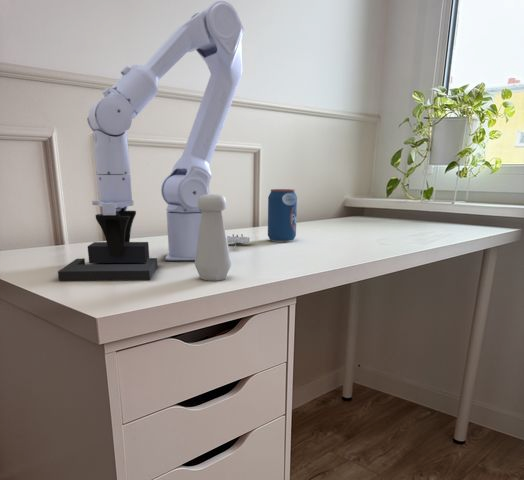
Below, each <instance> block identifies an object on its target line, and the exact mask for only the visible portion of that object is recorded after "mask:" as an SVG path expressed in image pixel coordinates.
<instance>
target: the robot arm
mask: <svg viewBox="0 0 524 480" xmlns="http://www.w3.org/2000/svg"><path fill="white" fill-rule="evenodd" d="M244 32H245V29H244V26H243V23H242V21H241V18H240V16H239V14H238V12H237V10H236V8H235V7H234V5H232V3H230V2H228V1H226V0H217V1H215V2H213V3H212V4H210V5H209V6H208V7H207V8H205V9H204V10H201V11H200V12H197V13H194V14H193V15H192V16H191V17H190V18H189V19H188V20H186V21H185V22H183V23H182V24H181V25H179V26H178V27H177V28H175V30H174V31H173V32H172V33H171V34H170V35H169V36H168V38H167V39H166V40H165V41H164V42H163V43H162V44H161V46H160V47H159V48H157V50H156V51H155V53H153V55H152V56H151V57H150V58H149V59H148V61H146V63H145V64H144V65H142V64H132V65H131V66H130V67H129V66H128V65H126V66H124V67H123V68H122V69H121V71H120V74H121V77H119V79H117V81H116V82H115V83H114V84H113V85H111V87H110V88H109V87H107V88H104V90H103V91H102V95H103V97H101V99H100V100H98V101H96V102H94V103H93V104H92V105H91V106H90V108H89V111H88V117H86V121H87V124H88V127H89V128H90V130H91V131H92V134H93V143H94V144H93V151H94V162H95V171H96V172H95V173H96V182H97V183H96V185H97V195H98V199H97V200H91V205H92V206H99V207H101V208H102V213H97V214H95V216H94V217H95V220H96V222H97V223H98V225H99V227H100V229H101V230H102V232H103V235H104V238H105V242H107V245H108V249H109V252H110V254H111V256H123V253H124V246H125V242H131V241H130V240H131V232H132V226H133V222H134V219H135V217H136V214H137V211H136V210H128V209H129V207H133V206H134V205H135V204H134V200H133V194H132V180H131V179H132V178H131V164H130V151H129V145H128V132H127V131H128V130H130V129H131V127H132V122H133V120H134V119H136V117H137V116H138V115H139V114H140V113H141V112H142V111H143V110H144V108H146V106H147V105H148V104H149V103H150V102H151V101H152V100H153V99H154V98H155V97H156V96H157V95H158V93H159V81H160V80H161V79H162V78H163V77H164V76H165V75H166V74H167V73H168V72H169V71H170V70H171V69H172V68H173V67H174V66H175V65H176V64H177V63H178V62H179V61H180V60H181V59H182V58H183V57H184V56H185V55H186V54H187V53H193V52H194V51H196V52H197V54H198V55H199V57H201V59H202V60H203V61H204V63H205V64H206V66H207V68H208V70H209V72H210V76H209V78H208V81H207V84H206V87H205V89H204V93H203V95H202V98H201V101H200V104H199V107H198V109H197V113H196V115H195V118H194V121H193V123H192V127H191V129H190V132H189V135H188V138H187V141H186V143H185V145H184V149H183V152H182V154H181V156H180V157H179V158H178V159H177V161H176V163H174V165H173V166H172V169H171V172H170V174H168V175H167V176H166V177H165V178H164V180H163V182H162V184H161V188H160V192H161V197H162V200H164V202H165V203H166V205H167V207H166V209H165V210H166V225H167V244H168V245H167V247H168V252H167V254H166V256H165V258H164V260H165V261H195V257H196V250H197V243H198V236H199V230H200V223H201V216H202V210H200V209H199V208H198V198H199V197H200V196H201V195H204V194H210V184H211V179H212V171H211V169H210V168H211V167H210V165H211V161H212V158H213V157H214V156H213V155H214V154H215V150H216V147H217V144H218V141H219V139H220V136H221V133H222V131H223V128H224V126H225V123H226V120H227V116H228V115H229V111H230V108H231V106H232V103H233V100H234V98H235V94H236V92H237V89H238V86H239V84H240V80H241V78H242V75H243V57H242V56H243V55H242V40H243V37H244Z"/></svg>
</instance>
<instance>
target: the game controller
mask: <svg viewBox="0 0 524 480" xmlns="http://www.w3.org/2000/svg"><path fill="white" fill-rule="evenodd" d="M240 235H241V236H239V234H236V235H235V234H234V233H232V236H230V235H226V238H227V243H228V244H229V243H233V244H234V246H233V248H236V246H237V244H241V243H243V244H250V240H251V239H250V237H249V236H244V234H242V233H241V234H240Z"/></svg>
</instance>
